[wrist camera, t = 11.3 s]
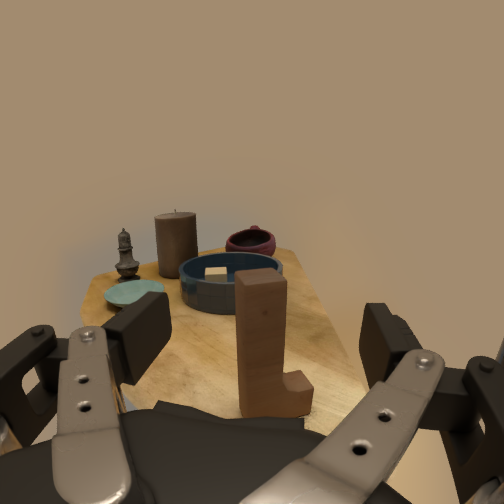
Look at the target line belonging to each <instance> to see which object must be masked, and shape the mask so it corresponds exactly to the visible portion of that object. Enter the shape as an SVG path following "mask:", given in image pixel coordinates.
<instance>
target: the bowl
mask: <svg viewBox="0 0 504 504" xmlns="http://www.w3.org/2000/svg"><path fill="white" fill-rule="evenodd" d="M275 248H276V243H275V238H274V236H273V235H272V234H271V233H270V232H268V231H266V230H262V229H260V228H259V227H258V226H251V228H250V229H246V230H243V231H240V232H237V233H235V234H233V235H231V236H230V237H229V238H228V240H227V242H226V247H225V249H226V252H249V253H258V254H263V255H267V256H270V257H271V256H272V255H273V254H274V252H275Z"/></svg>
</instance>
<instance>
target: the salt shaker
mask: <svg viewBox="0 0 504 504" xmlns="http://www.w3.org/2000/svg"><path fill="white" fill-rule="evenodd" d="M122 230H123V231H122V232H121V233H120V234H119V235H118V241H119V248H118V250H119V253H120V262H119V263H117V264H116V265H115V267H116V268H117V272H118V273H119V274H120V275H121V277H120V278H119V279H118V281H119V282H120V283H123V282H127V281H133V280H139V279H140V277H139V276H138V275H135V274H136V273H137V271H138V268H139V267H138V265H139V262H138V261H135V260H134V259H133V256H132V248H133V247H132V246H131V240H130V234H129V233H128V232H126V231H124V230H125V229H124V228H123V229H122Z"/></svg>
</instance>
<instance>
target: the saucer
mask: <svg viewBox="0 0 504 504" xmlns="http://www.w3.org/2000/svg"><path fill="white" fill-rule="evenodd" d="M148 291H155V292H163V291H164V286H163V284H161V283H159V282H157V281H152V280H133V281H127V282H123V283H120V284H117V285H115V286H113V287H111V288H109V289H108V290H107V291H106V292H105V293H104V298H105V299H106V300H107V301H108V302H110V303H111V304H113V305H115V306H118V307H121V308H124V307H125V306H127V305H128V304H131V303H133V302H135V301H137V300H138V299H139V298H141V297H142V296H143V295H144V294H145V293H147V292H148Z"/></svg>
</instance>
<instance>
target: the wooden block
mask: <svg viewBox="0 0 504 504" xmlns="http://www.w3.org/2000/svg"><path fill="white" fill-rule="evenodd" d="M234 277H235V309H236V338H237V363H238V386H239V407H240V410H241V413H242V415H243V418H253V417H265V416H269V417H284V418H295V417H298V416H302V415H306V414H309V413H310V411H311V405H312V399H313V392H314V387H313V386H312V384H311V383H310V382H309V380H308V379H307V378H306V376H305V375H304V374H303V372H302V371H301V370H297V371H293V372H288V373H283V365H284V347H285V327H286V304H287V280H286V279H285V278H284V277H283V276H282V275H281V274H279V273H278V272H277V271H276V270H275V269H273V268H262V269H252V270H242V271H236V272H235V274H234Z"/></svg>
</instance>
